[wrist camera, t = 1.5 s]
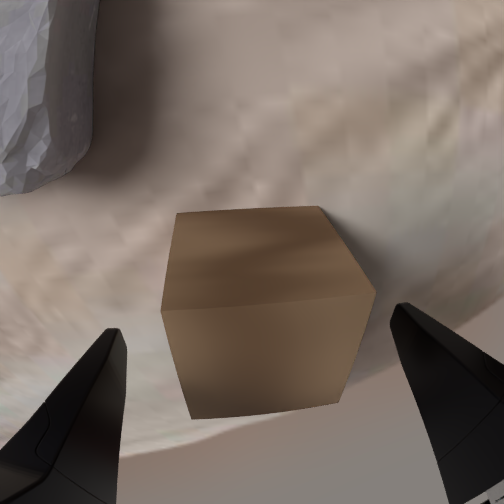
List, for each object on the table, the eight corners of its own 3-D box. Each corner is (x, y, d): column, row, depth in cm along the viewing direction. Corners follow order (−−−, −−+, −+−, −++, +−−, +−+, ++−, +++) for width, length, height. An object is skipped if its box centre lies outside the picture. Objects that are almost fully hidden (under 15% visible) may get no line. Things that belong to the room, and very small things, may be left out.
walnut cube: (317, 204, 11) (376, 292, 7) (305, 308, 14) (338, 402, 10) (177, 212, 11) (160, 311, 7) (192, 317, 14) (191, 419, 9)
